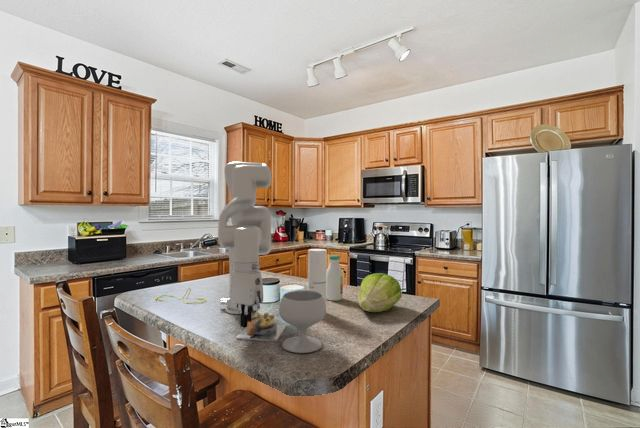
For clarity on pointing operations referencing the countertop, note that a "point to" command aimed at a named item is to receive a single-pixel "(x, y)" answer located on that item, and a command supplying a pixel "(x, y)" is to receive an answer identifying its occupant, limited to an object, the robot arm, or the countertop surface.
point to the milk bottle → (334, 280)
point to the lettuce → (378, 292)
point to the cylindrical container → (317, 271)
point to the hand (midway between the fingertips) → (246, 325)
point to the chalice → (302, 318)
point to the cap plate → (263, 338)
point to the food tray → (259, 323)
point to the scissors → (183, 297)
